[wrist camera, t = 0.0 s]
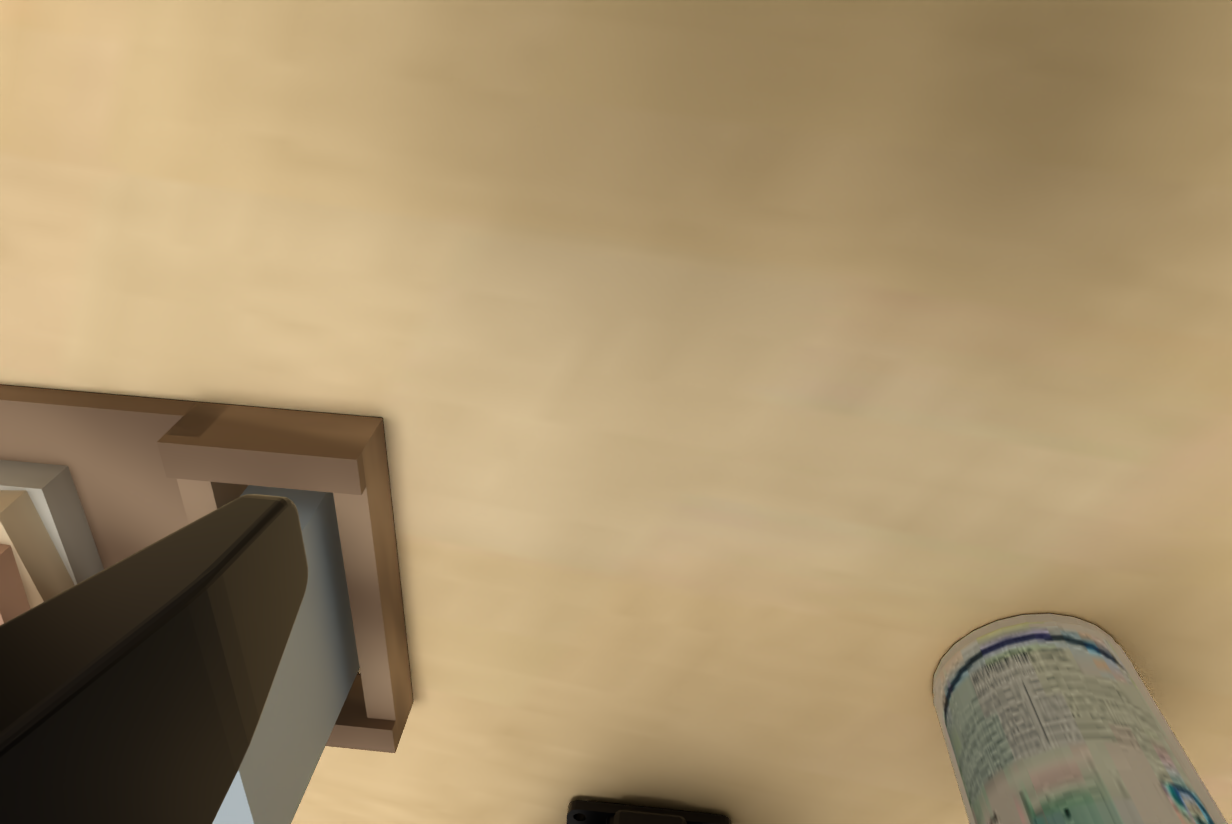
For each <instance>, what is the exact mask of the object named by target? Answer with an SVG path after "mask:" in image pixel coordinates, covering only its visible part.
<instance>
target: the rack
mask: <svg viewBox="0 0 1232 824" xmlns="http://www.w3.org/2000/svg"><path fill="white" fill-rule="evenodd" d="M0 460H9V461H20V462H31V463H42V464H53V465H64V466H68V467H69V470H70V473H71V476H72V479H73V482H74V485H75V488H76V490H77V493H78V496H79V499H80V502H81V505H82V508H83V510H84V513H85V516H86V519H87V522H88V525H89V528H90V530H91V533H92V536H93V539H94V542H95V545H96V548H97V551H98V553H99V556H100V559H101V562H102V565H103V568H104V569H106V568H108V567H110V566H112V565H114V564H115V563H117V562H119V561H121V560H123V559H125V558H127V557H129V556H130V555H132V554H134V553H136V552H138V551H140V550H142V549H143V548H145V547H147V546H149V545H151V544H153V543H155V542H156V541H158V540H160V539H162V538H164V537H166V536H168V535H170V534H171V533H173V532H175V531H177V530H179V529H181V528H183V527H184V526H186V525H188V524H190V523H192V522H194V521H196V520H197V519H199V518H201V517H203V516H205V515H207V514H209V513H210V512H212V511H214V510H216V509H218V508H220V507H222V506H224V505H225V504H227V503H229V502H231V501H233V500H235V499H237V498H239V497H240V495H241V494H242V493H243V492H244V490H245V489H246V488H247V486H248V485H253V486H264V487H275V488H286V489H297V490H308V491H319V492H330V493H333V496H334V502H335V509H336V515H337V522H338V528H339V535H340V542H341V548H342V555H343V561H344V568H345V574H346V581H347V588H348V594H349V601H350V607H351V614H352V620H353V627H354V634H355V640H356V647H357V653H358V660H359V666H360V673H361V675H356V677H355V680H354V682H353V684H352V686H351V689H350V691H349V693H348V695H347V698H346V700H345V702H344V705H343V707H342V709H341V711H340V714H339V716H338V718H337V720H336V723H335V725H334V727H333V729H332V732H331V734H330V736H329V738H328V741H327V743H326V745H325V746H331V747H341V748H351V749H360V750H370V751H380V752H389V753H395V752H396V749H397V747H398V744H399V741H400V738H401V735H402V732H403V730H404V727H405V724H406V721H407V718H408V715H409V713H410V710H411V707H412V704H413V695H412V686H411V677H410V667H409V658H408V649H407V640H406V630H405V621H404V612H403V603H402V593H401V584H400V575H399V566H398V556H397V547H396V538H395V529H394V519H393V510H392V501H391V492H390V482H389V473H388V464H387V454H386V445H385V436H384V427H383V418H375V417H364V416H352V415H341V414H329V413H318V412H306V411H295V410H283V409H272V408H260V407H249V406H237V405H226V404H214V403H203V402H191V401H180V400H168V399H157V398H145V397H134V396H122V395H111V394H99V393H88V392H76V391H65V390H53V389H42V388H30V387H19V386H7V385H0Z"/></svg>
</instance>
